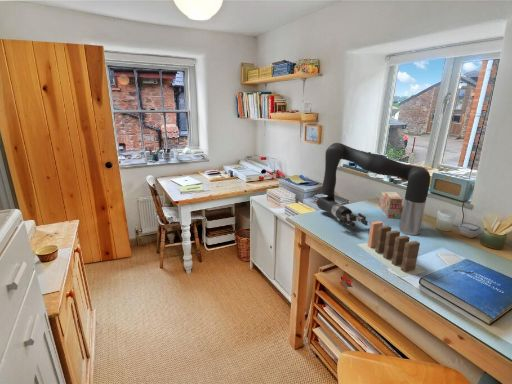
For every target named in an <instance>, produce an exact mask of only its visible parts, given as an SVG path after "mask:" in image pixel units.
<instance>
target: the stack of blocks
mask: <svg viewBox="0 0 512 384" xmlns="http://www.w3.org/2000/svg"><path fill="white" fill-rule="evenodd" d="M379 192H380V193H379V203H378V206H379V208H380V209H381V210H382V212H383V213H384V215H385V216H386V217H387V218H388V219H399V220H400V218H401V209H402V204H403V198H402V197H401V196H400V194H398V192H396V191H379Z"/></svg>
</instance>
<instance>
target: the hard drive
mask: <svg viewBox="0 0 512 384" xmlns="http://www.w3.org/2000/svg"><path fill="white" fill-rule="evenodd" d="M436 255H437V256H438V257H437V256H436ZM435 256H436V257H437V258H438V259H439V260H440V261H442V262H443V263H444V265H446V266H447V265H448V266H449V265H452V264H455V263H457V262H460V261H463V259H461V258H460V257H459V256H458V255H457V254H455V253H454V254H453V253H436V254H435ZM448 266H447V267H448Z"/></svg>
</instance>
